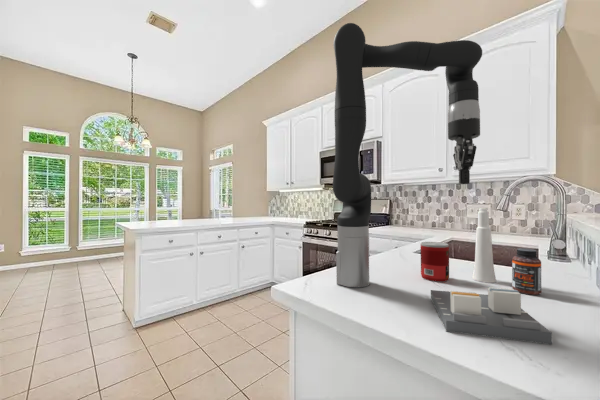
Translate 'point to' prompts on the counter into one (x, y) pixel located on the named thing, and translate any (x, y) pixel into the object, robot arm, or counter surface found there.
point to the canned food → (435, 261)
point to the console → (490, 321)
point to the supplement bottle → (526, 272)
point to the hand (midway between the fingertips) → (464, 183)
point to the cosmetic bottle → (483, 250)
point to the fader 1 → (465, 302)
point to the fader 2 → (504, 300)
